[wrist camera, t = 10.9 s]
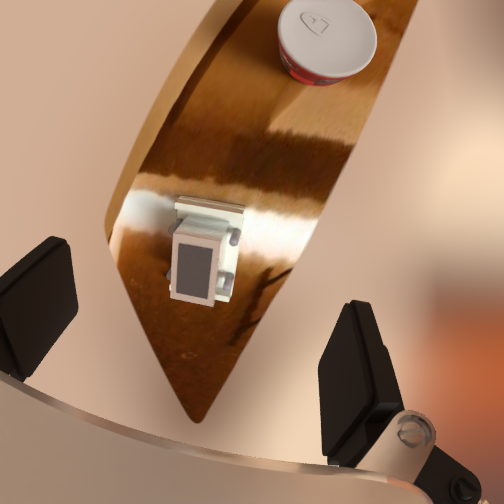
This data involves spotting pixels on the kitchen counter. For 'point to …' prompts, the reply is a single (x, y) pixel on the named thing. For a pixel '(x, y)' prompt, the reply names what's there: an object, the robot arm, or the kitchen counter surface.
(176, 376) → the kitchen counter surface
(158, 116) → the kitchen counter surface
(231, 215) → the tray
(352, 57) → the canned food
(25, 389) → the robot arm
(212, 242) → the box
